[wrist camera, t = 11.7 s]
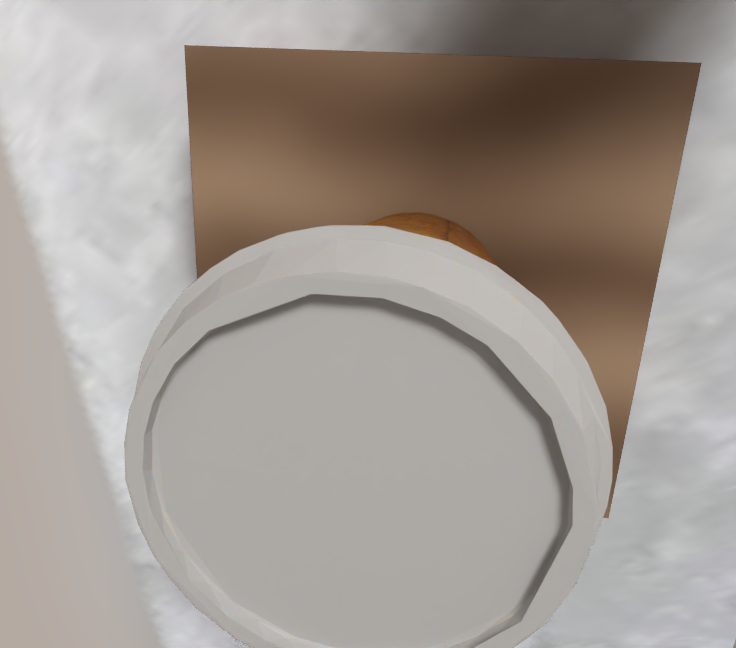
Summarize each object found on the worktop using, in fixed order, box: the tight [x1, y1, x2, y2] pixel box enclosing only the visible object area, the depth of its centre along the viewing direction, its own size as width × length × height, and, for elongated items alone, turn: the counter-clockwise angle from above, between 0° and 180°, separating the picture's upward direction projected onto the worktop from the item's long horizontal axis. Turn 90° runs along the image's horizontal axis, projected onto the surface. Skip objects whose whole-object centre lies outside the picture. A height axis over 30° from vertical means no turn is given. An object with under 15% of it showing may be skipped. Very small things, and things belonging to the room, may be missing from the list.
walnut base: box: [185, 45, 701, 518], centre depth 25 cm, size 16×16×5 cm
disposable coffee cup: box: [124, 212, 613, 648], centre depth 17 cm, size 10×10×12 cm
